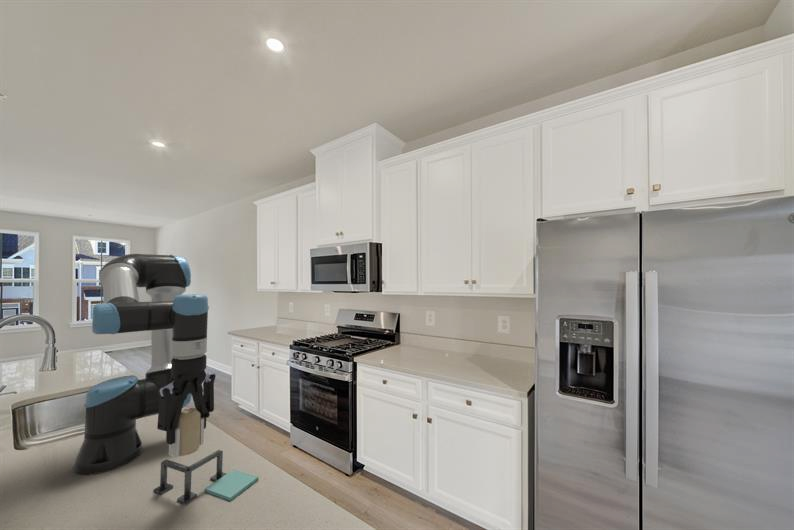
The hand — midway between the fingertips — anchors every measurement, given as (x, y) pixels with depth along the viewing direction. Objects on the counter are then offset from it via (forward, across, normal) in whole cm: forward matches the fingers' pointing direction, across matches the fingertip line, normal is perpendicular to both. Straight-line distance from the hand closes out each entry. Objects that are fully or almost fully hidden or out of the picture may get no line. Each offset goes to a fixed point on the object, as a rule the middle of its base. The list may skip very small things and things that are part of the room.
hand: (186, 449), depth 81 cm
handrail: (+12, +5, +4) cm, 14 cm away
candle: (+1, 0, 0) cm, 1 cm away
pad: (+12, +8, -6) cm, 16 cm away
